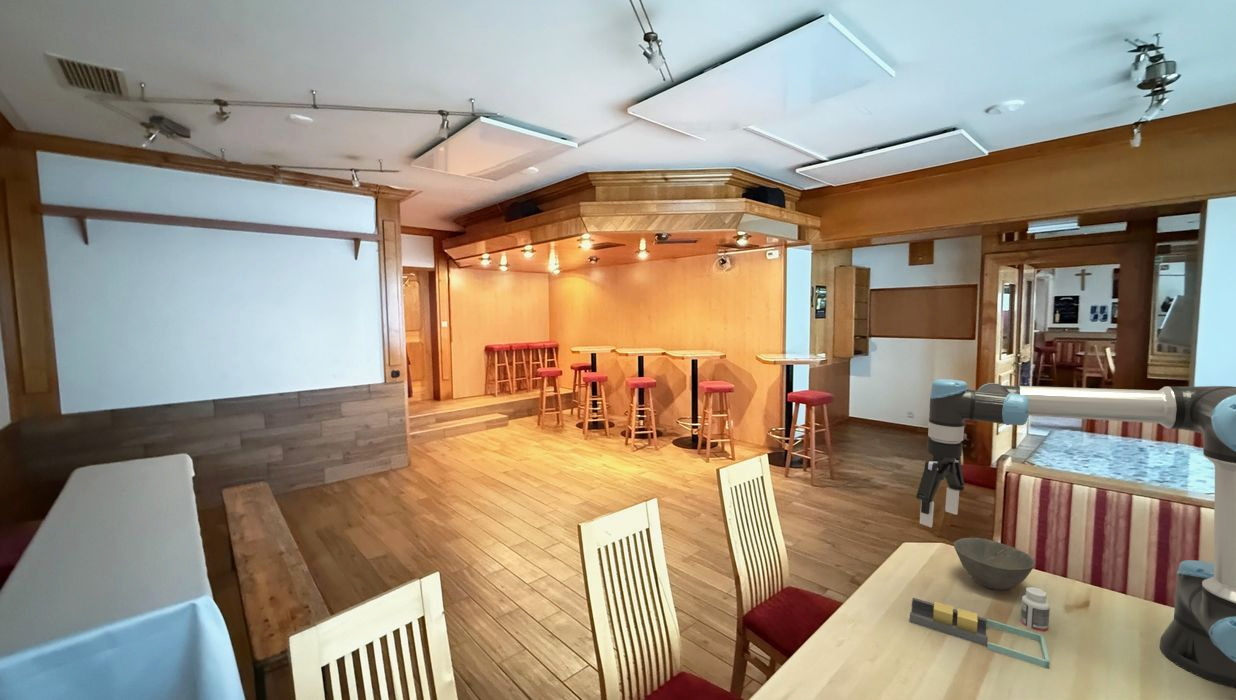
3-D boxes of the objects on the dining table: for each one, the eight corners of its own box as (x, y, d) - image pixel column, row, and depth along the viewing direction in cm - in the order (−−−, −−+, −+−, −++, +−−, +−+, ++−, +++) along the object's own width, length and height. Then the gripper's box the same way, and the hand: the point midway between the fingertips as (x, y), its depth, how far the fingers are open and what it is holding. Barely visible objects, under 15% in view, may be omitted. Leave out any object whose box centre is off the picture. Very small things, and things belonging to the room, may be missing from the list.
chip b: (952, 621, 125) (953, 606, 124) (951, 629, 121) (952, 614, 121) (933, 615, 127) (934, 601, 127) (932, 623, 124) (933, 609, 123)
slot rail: (985, 629, 123) (986, 618, 122) (987, 650, 115) (987, 638, 115) (912, 607, 132) (912, 597, 132) (909, 625, 125) (909, 614, 124)
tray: (1042, 644, 117) (1043, 635, 117) (1048, 673, 108) (1049, 662, 108) (985, 627, 124) (986, 618, 123) (987, 653, 115) (987, 643, 114)
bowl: (1050, 597, 136) (1052, 563, 135) (999, 608, 131) (1001, 573, 130) (984, 563, 154) (986, 533, 153) (937, 572, 149) (939, 541, 148)
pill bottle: (1051, 629, 123) (1053, 593, 122) (1043, 637, 120) (1046, 600, 119) (1024, 618, 127) (1026, 583, 126) (1016, 626, 124) (1019, 589, 123)
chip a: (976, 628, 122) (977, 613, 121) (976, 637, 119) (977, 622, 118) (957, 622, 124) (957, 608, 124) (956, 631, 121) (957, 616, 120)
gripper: (951, 429, 134) (946, 503, 136) (904, 443, 121) (898, 524, 123) (983, 436, 128) (976, 513, 130) (937, 451, 115) (930, 536, 117)
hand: (938, 518), depth 126 cm, fingers open, 13 cm apart
